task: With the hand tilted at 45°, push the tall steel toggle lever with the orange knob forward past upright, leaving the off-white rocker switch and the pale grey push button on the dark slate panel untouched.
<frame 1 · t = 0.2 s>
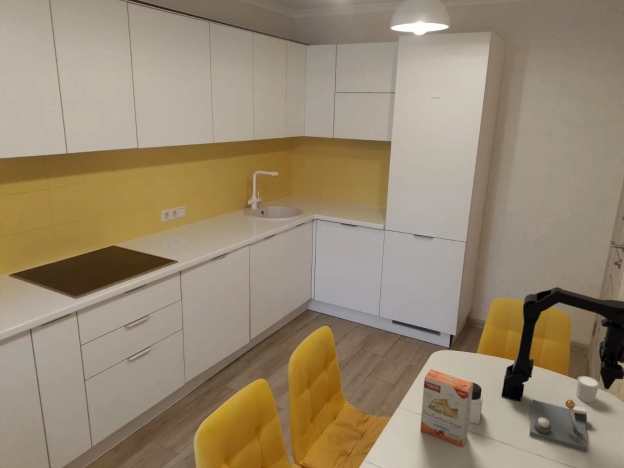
hand: (606, 381, 150), 14 cm above the table, tool pointing down, fingers open, 9 cm apart
switch panel: (557, 425, 151), on the table
push button: (543, 422, 147), point 4 cm above the table, slide at 0.0 cm
medicine bottle: (469, 416, 156), on the table
cracker box: (443, 434, 148), on the table
toggle lever: (571, 411, 144), point 9 cm above the table, hinge at -22.0°
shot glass: (585, 398, 165), on the table
rocker switch: (578, 409, 152), point 4 cm above the table, hinge at -8.0°
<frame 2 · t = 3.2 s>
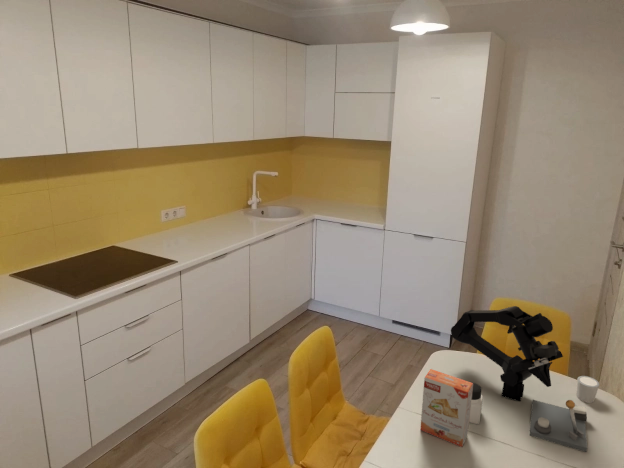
hand: (549, 386, 151), 13 cm above the table, tool tilted 45°, fingers closed
nothing on the table moved.
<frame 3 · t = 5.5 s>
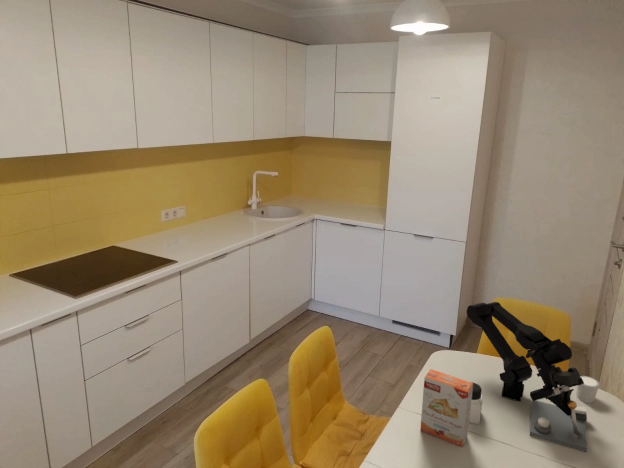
hand: (570, 415, 145), 8 cm above the table, tool tilted 45°, fingers closed, pressing on toggle lever
toggle lever: (572, 411, 144), point 9 cm above the table, hinge at -18.2°, touching gripper
everything else where it was.
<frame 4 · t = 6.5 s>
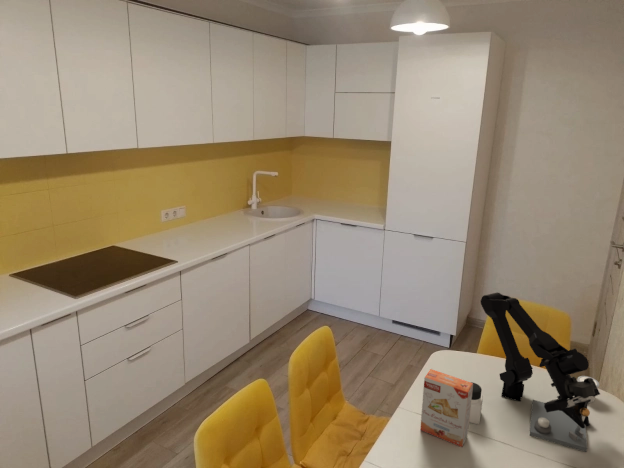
hand: (585, 427, 140), 7 cm above the table, tool tilted 45°, fingers closed on toggle lever, 2 cm apart
toggle lever: (582, 417, 141), point 10 cm above the table, hinge at 7.8°, touching gripper
everything else where it was.
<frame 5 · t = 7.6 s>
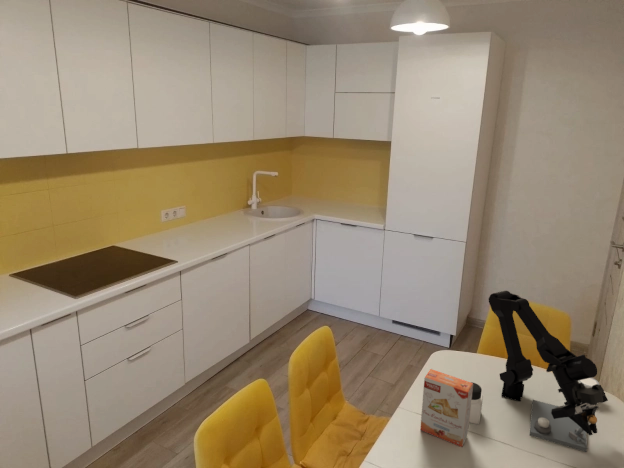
hand: (593, 434, 138), 6 cm above the table, tool tilted 45°, fingers closed, pressing on toggle lever
toggle lever: (588, 422, 139), point 9 cm above the table, hinge at 23.8°, touching gripper
everything else where it was.
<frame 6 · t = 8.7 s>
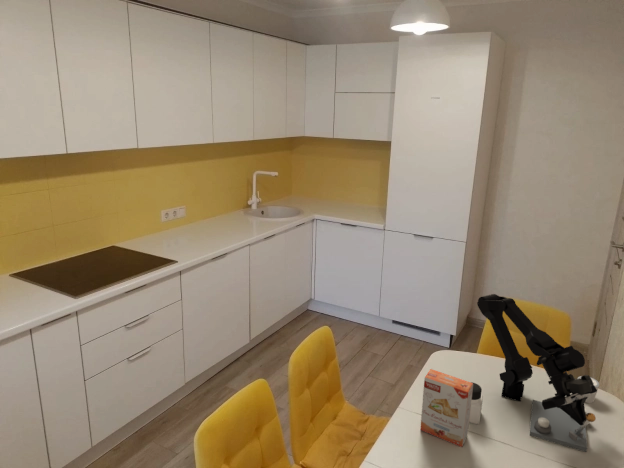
hand: (583, 424, 141), 8 cm above the table, tool tilted 45°, fingers closed on toggle lever
toggle lever: (587, 421, 140), point 9 cm above the table, hinge at 20.1°, touching gripper
everything else where it was.
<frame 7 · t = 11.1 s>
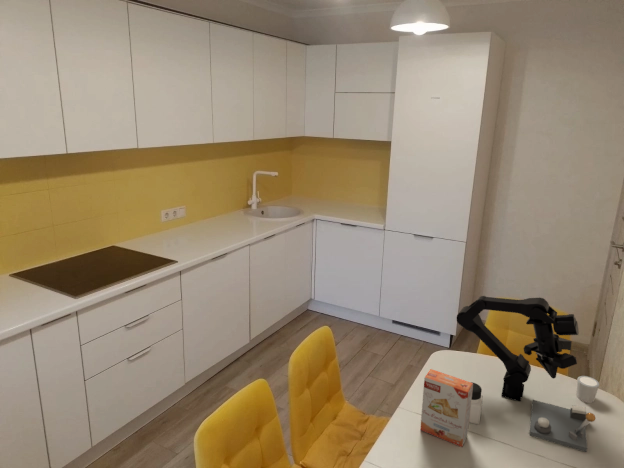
hand: (553, 377, 156), 12 cm above the table, tool tilted 20°, fingers closed
toggle lever: (587, 421, 140), point 9 cm above the table, hinge at 19.8°
everything else where it was.
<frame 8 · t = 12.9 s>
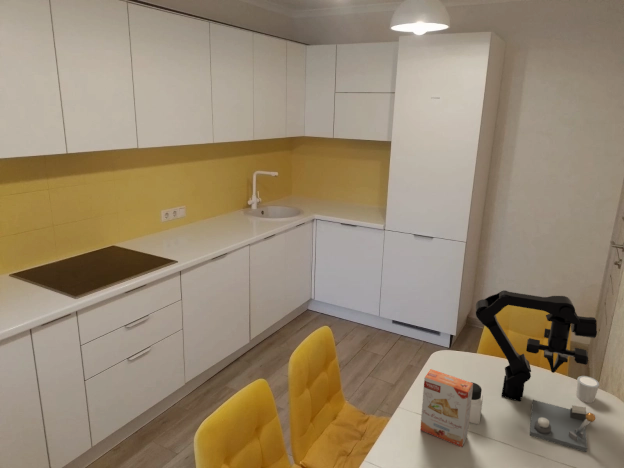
hand: (552, 372, 160), 12 cm above the table, tool pointing down, fingers closed
nothing on the table moved.
at the end: toggle lever at +20° (first picture: -22°); rocker switch at -8° (first picture: -8°); push button slide at 0.0 cm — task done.
